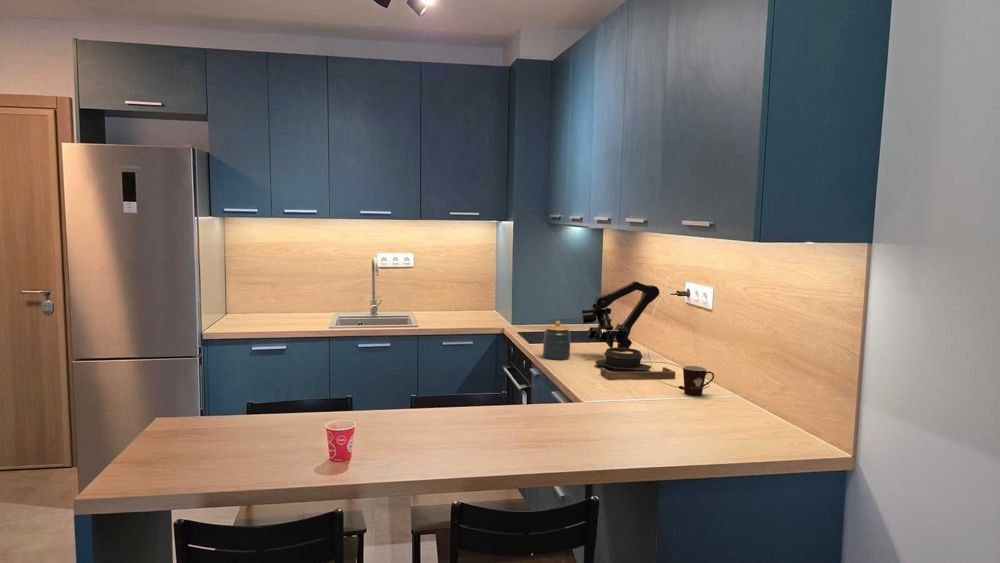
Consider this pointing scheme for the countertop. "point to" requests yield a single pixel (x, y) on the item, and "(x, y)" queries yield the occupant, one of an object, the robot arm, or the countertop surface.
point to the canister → (557, 342)
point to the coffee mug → (694, 380)
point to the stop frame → (639, 374)
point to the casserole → (623, 359)
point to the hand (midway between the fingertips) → (611, 347)
